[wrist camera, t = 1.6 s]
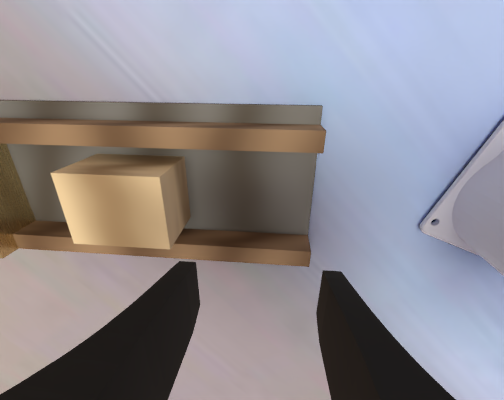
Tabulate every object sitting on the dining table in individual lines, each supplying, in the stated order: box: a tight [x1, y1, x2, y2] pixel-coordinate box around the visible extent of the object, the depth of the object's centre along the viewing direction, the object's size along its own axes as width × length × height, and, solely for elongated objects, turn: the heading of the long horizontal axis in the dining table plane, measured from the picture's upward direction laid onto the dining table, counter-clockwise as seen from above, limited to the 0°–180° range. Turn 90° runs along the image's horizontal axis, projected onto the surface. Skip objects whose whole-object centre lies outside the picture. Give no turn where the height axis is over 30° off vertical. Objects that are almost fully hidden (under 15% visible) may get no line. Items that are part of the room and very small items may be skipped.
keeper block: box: [51, 154, 191, 249], centre depth 16 cm, size 6×4×4 cm
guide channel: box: [0, 100, 326, 267], centre depth 18 cm, size 22×11×2 cm, turn 90°
